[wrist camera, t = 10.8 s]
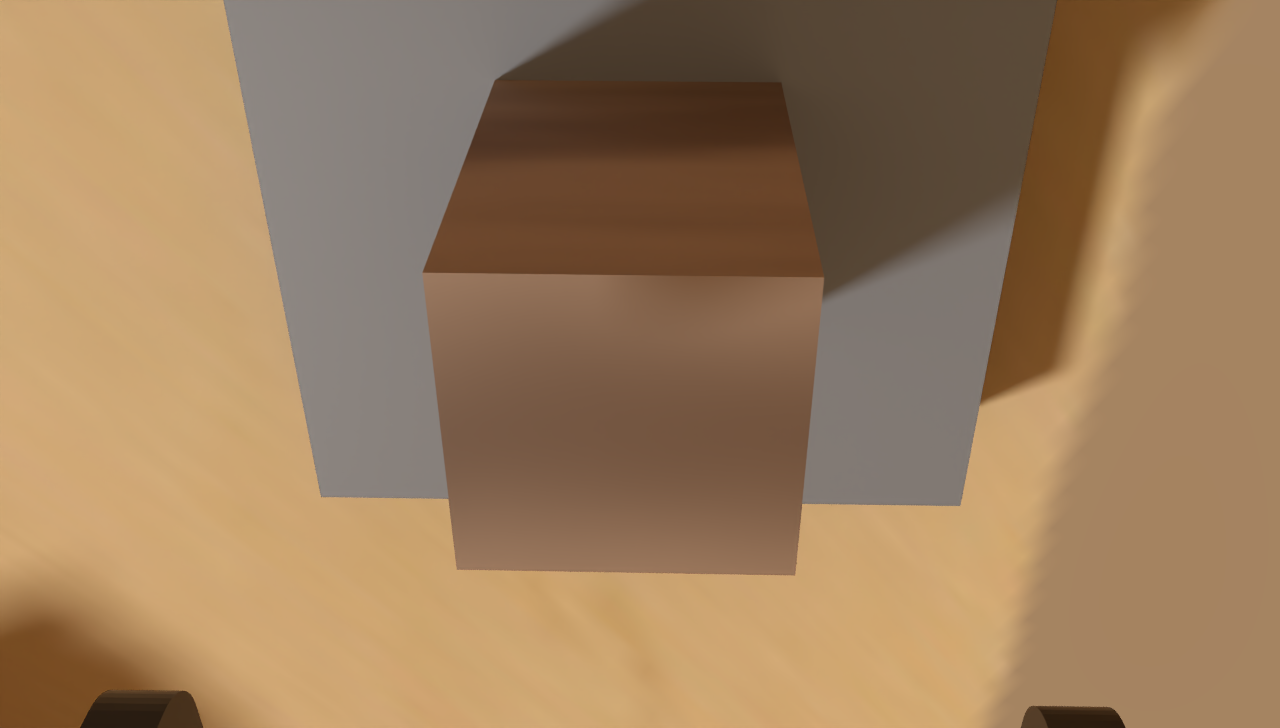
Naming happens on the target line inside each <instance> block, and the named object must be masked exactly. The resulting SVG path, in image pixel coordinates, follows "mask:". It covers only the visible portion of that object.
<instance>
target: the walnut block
mask: <svg viewBox="0 0 1280 728" xmlns="http://www.w3.org/2000/svg"><path fill="white" fill-rule="evenodd" d="M422 274H423V283H424V292H425V300H426V309H427V317H428V326H429V335H430V343H431V352H432V360H433V369H434V378H435V386H436V395H437V403H438V412H439V421H440V429H441V438H442V446H443V455H444V463H445V472H446V481H447V489H448V498H449V506H450V515H451V524H452V532H453V541H454V549H455V558H456V567H457V570H512V571H569V572H627V573H685V574H743V575H795V571H796V561H797V550H798V540H799V530H800V520H801V510H802V499H803V489H804V479H805V469H806V459H807V448H808V438H809V428H810V418H811V408H812V397H813V387H814V377H815V367H816V357H817V347H818V336H819V326H820V316H821V306H822V296H823V285H824V274H823V269H822V265H821V260H820V256H819V251H818V247H817V242H816V238H815V233H814V229H813V224H812V220H811V215H810V211H809V206H808V202H807V197H806V192H805V188H804V183H803V179H802V174H801V170H800V165H799V161H798V156H797V152H796V147H795V143H794V138H793V134H792V129H791V124H790V120H789V115H788V111H787V106H786V102H785V97H784V93H783V88H782V84H781V82H669V81H549V80H495V81H494V83H493V86H492V89H491V91H490V94H489V97H488V99H487V102H486V105H485V107H484V110H483V113H482V115H481V118H480V121H479V123H478V126H477V129H476V131H475V134H474V137H473V139H472V142H471V145H470V147H469V150H468V153H467V155H466V158H465V161H464V163H463V166H462V169H461V171H460V174H459V177H458V179H457V182H456V184H455V187H454V190H453V192H452V195H451V198H450V200H449V203H448V206H447V208H446V211H445V214H444V216H443V219H442V222H441V224H440V227H439V230H438V232H437V235H436V238H435V240H434V243H433V246H432V248H431V251H430V254H429V256H428V259H427V262H426V264H425V267H424V270H423V272H422Z"/></svg>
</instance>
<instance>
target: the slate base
mask: <svg viewBox="0 0 1280 728" xmlns="http://www.w3.org/2000/svg"><path fill="white" fill-rule="evenodd" d="M1056 3H1057V0H224V5H225V10H226V15H227V20H228V26H229V31H230V36H231V41H232V46H233V51H234V56H235V61H236V66H237V71H238V76H239V82H240V87H241V92H242V97H243V102H244V107H245V112H246V117H247V122H248V127H249V132H250V138H251V143H252V148H253V153H254V158H255V163H256V168H257V173H258V178H259V183H260V188H261V194H262V199H263V204H264V209H265V214H266V219H267V224H268V229H269V234H270V239H271V244H272V250H273V255H274V260H275V265H276V270H277V275H278V280H279V285H280V290H281V295H282V300H283V306H284V311H285V316H286V321H287V326H288V331H289V336H290V341H291V346H292V351H293V356H294V362H295V367H296V372H297V377H298V382H299V387H300V392H301V397H302V402H303V407H304V412H305V418H306V423H307V428H308V433H309V438H310V443H311V448H312V453H313V458H314V463H315V468H316V474H317V479H318V484H319V489H320V494H321V497H363V498H434V499H449V498H448V489H447V481H446V472H445V463H444V455H443V446H442V438H441V429H440V421H439V412H438V403H437V395H436V386H435V378H434V369H433V360H432V352H431V343H430V335H429V326H428V317H427V309H426V300H425V292H424V283H423V274H422V272H423V270H424V267H425V264H426V262H427V259H428V256H429V254H430V251H431V248H432V246H433V243H434V240H435V238H436V235H437V232H438V230H439V227H440V224H441V222H442V219H443V216H444V214H445V211H446V208H447V206H448V203H449V200H450V198H451V195H452V192H453V190H454V187H455V184H456V182H457V179H458V177H459V174H460V171H461V169H462V166H463V163H464V161H465V158H466V155H467V153H468V150H469V147H470V145H471V142H472V139H473V137H474V134H475V131H476V129H477V126H478V123H479V121H480V118H481V115H482V113H483V110H484V107H485V105H486V102H487V99H488V97H489V94H490V91H491V89H492V86H493V83H494V81H495V80H549V81H669V82H781V84H782V88H783V93H784V97H785V102H786V106H787V111H788V115H789V120H790V124H791V129H792V134H793V138H794V143H795V147H796V152H797V156H798V161H799V165H800V170H801V174H802V179H803V183H804V188H805V192H806V197H807V202H808V206H809V211H810V215H811V220H812V224H813V229H814V233H815V238H816V242H817V247H818V251H819V256H820V260H821V265H822V269H823V274H824V285H823V296H822V306H821V316H820V326H819V336H818V347H817V357H816V367H815V377H814V387H813V397H812V408H811V418H810V428H809V438H808V448H807V459H806V469H805V479H804V489H803V499H802V504H859V505H930V506H960V505H961V499H962V494H963V489H964V484H965V479H966V473H967V468H968V463H969V458H970V452H971V447H972V442H973V437H974V431H975V426H976V421H977V416H978V411H979V405H980V400H981V395H982V390H983V384H984V379H985V374H986V369H987V364H988V358H989V353H990V348H991V343H992V337H993V332H994V327H995V322H996V316H997V311H998V306H999V301H1000V296H1001V290H1002V285H1003V280H1004V275H1005V269H1006V264H1007V259H1008V254H1009V248H1010V243H1011V238H1012V233H1013V228H1014V222H1015V217H1016V212H1017V207H1018V201H1019V196H1020V191H1021V186H1022V181H1023V175H1024V170H1025V165H1026V160H1027V154H1028V149H1029V144H1030V139H1031V133H1032V128H1033V123H1034V118H1035V113H1036V107H1037V102H1038V97H1039V92H1040V86H1041V81H1042V76H1043V71H1044V66H1045V60H1046V55H1047V50H1048V45H1049V39H1050V34H1051V29H1052V24H1053V18H1054V13H1055V8H1056Z"/></svg>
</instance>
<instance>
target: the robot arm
mask: <svg viewBox="0 0 1280 728" xmlns="http://www.w3.org/2000/svg"><path fill="white" fill-rule="evenodd" d="M80 728H203V726H202V723H201V720H200V716H199V713H198V710H197V707H196V704H195V702H194V699H193V697H192V696H191V694H189V693H188V692H186V691H154V690H108V691H106V692H104V693H102V694H101V695H100V696H99V697H98V698H97V699H96V700H95V702H94V703H93V705H92V706H91V708H90V710H89V712H88V714H87V716H86V718H85V720H84V722H83V723H82V725H81V727H80ZM1021 728H1125V726H1124V724H1123V722H1122V720H1121V718H1120V716H1119V715H1118V713H1116V711H1115V710H1113V709H1112V708H1110V707H1071V706H1070V707H1069V706H1067V707H1066V706H1064V707H1063V706H1031V707H1029V708H1028V709H1027V711H1026V713H1025V716H1024V719H1023V722H1022V726H1021Z"/></svg>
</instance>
